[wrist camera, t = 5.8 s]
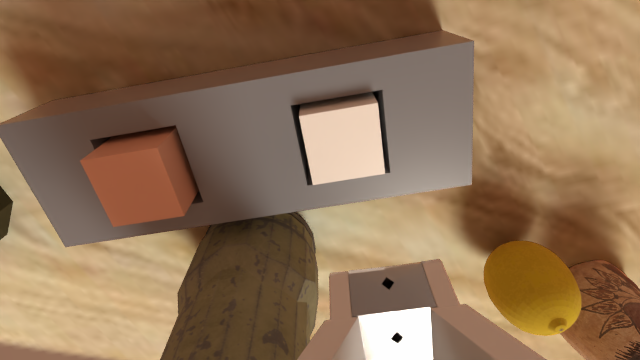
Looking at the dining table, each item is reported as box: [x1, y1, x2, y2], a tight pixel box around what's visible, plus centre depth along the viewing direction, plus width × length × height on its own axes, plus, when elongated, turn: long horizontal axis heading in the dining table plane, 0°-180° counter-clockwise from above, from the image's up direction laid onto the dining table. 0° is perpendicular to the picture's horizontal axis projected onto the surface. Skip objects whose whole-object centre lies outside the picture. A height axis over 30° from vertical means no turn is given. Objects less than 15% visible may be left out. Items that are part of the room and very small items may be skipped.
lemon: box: [484, 241, 581, 336], centre depth 27 cm, size 6×6×8 cm
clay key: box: [80, 125, 199, 227], centre depth 21 cm, size 4×4×4 cm
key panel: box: [0, 30, 474, 247], centre depth 23 cm, size 25×8×5 cm, turn 100°
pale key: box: [299, 92, 385, 185], centre depth 21 cm, size 4×4×4 cm
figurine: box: [560, 260, 640, 360], centre depth 27 cm, size 7×7×12 cm
